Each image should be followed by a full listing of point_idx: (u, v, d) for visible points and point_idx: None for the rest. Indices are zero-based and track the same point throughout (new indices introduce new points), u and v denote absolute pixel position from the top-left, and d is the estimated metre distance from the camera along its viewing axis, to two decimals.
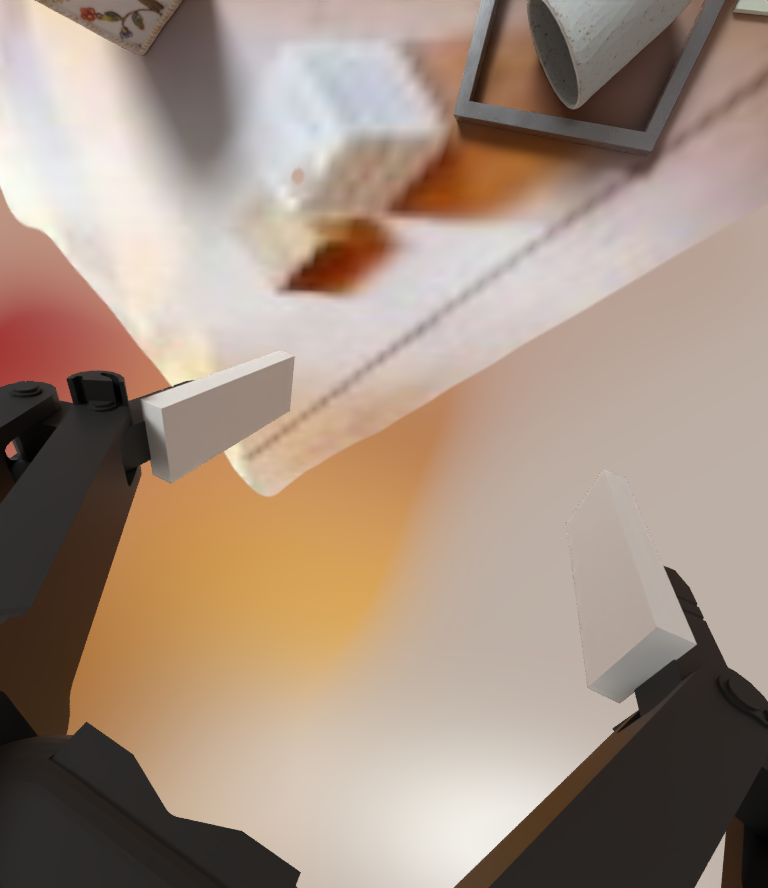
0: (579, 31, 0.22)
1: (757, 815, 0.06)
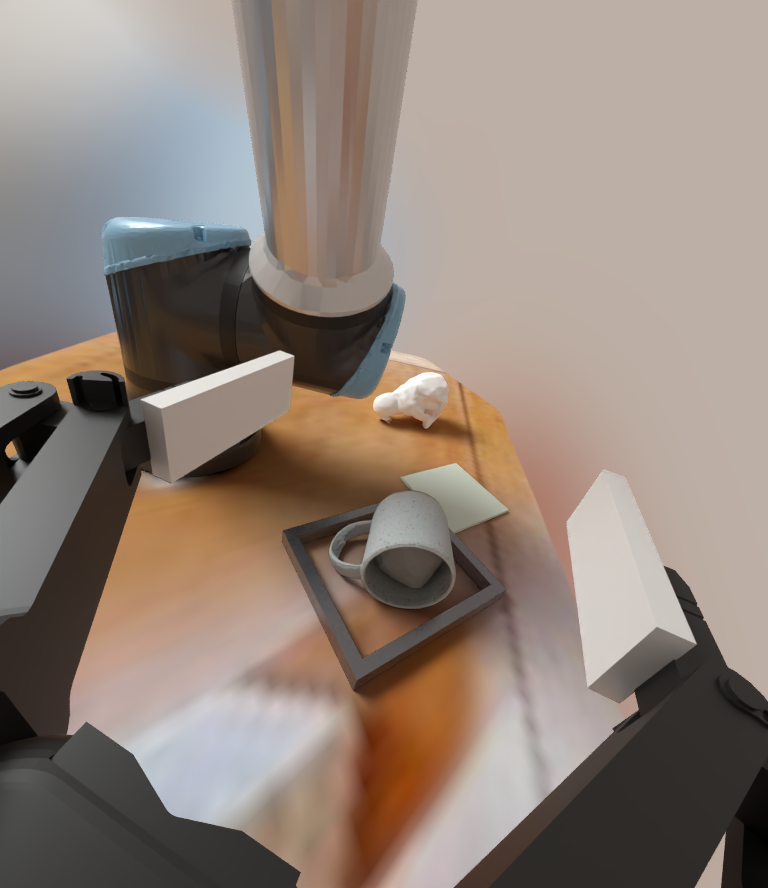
0: (435, 543, 0.27)
1: (757, 814, 0.06)
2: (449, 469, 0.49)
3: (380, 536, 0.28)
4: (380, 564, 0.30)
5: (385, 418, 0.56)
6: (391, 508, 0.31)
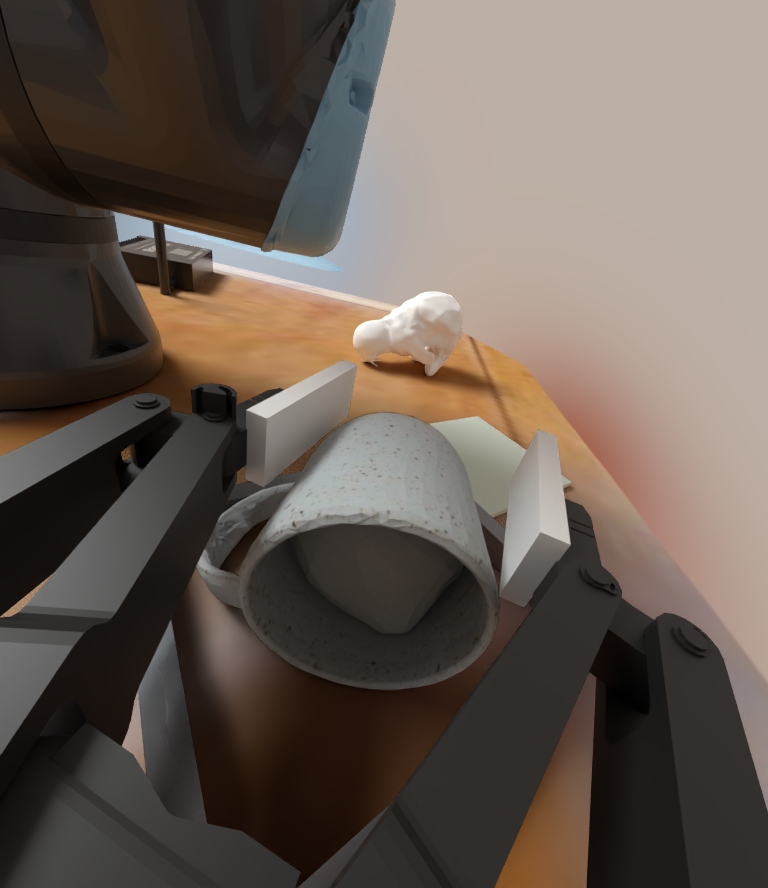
0: (441, 517, 0.09)
1: (605, 669, 0.08)
2: (468, 423, 0.31)
3: (290, 498, 0.10)
4: (307, 575, 0.12)
5: (370, 358, 0.38)
6: (336, 441, 0.13)
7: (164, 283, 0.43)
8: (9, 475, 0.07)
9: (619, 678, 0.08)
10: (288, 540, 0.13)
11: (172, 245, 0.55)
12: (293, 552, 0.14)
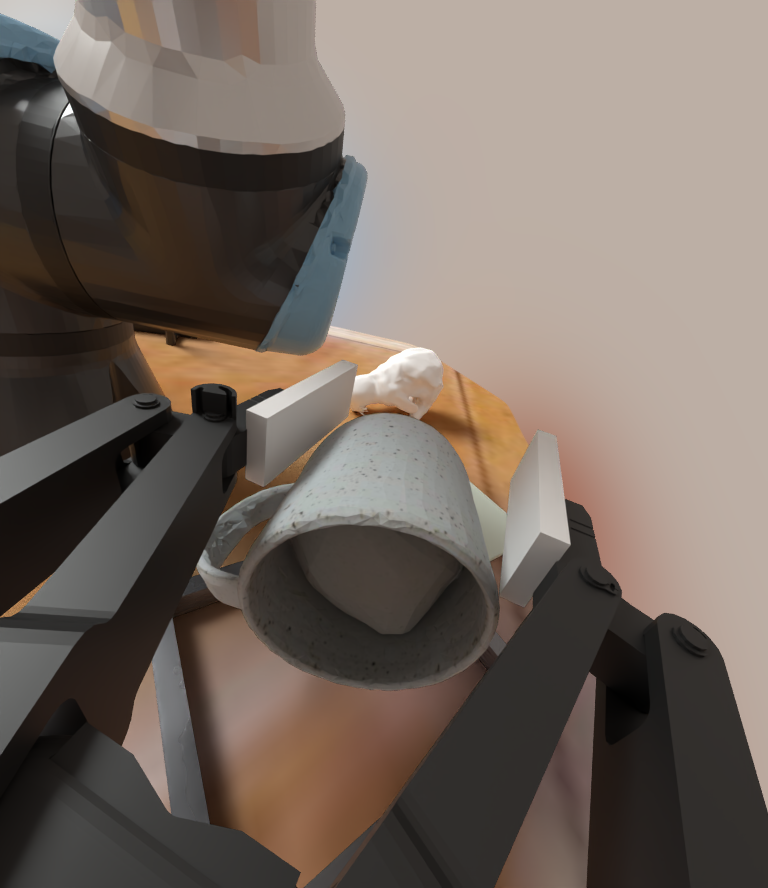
0: (440, 518, 0.09)
1: (605, 669, 0.08)
2: None
3: (290, 499, 0.10)
4: (307, 575, 0.12)
5: (359, 409, 0.42)
6: (336, 441, 0.13)
7: (170, 335, 0.47)
8: (9, 475, 0.07)
9: (619, 679, 0.08)
10: (288, 541, 0.13)
11: None
12: (293, 552, 0.14)
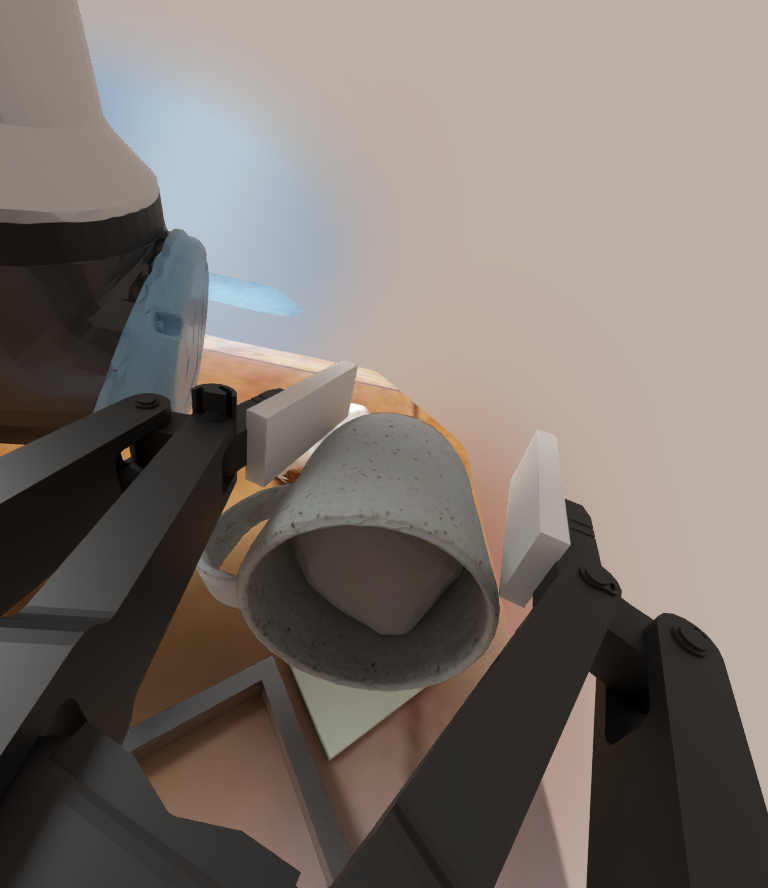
0: (440, 518, 0.09)
1: (605, 668, 0.08)
2: None
3: (289, 500, 0.10)
4: (306, 576, 0.12)
5: (278, 476, 0.36)
6: (336, 441, 0.13)
7: None
8: (9, 475, 0.07)
9: (620, 679, 0.08)
10: (287, 541, 0.13)
11: None
12: (292, 552, 0.14)
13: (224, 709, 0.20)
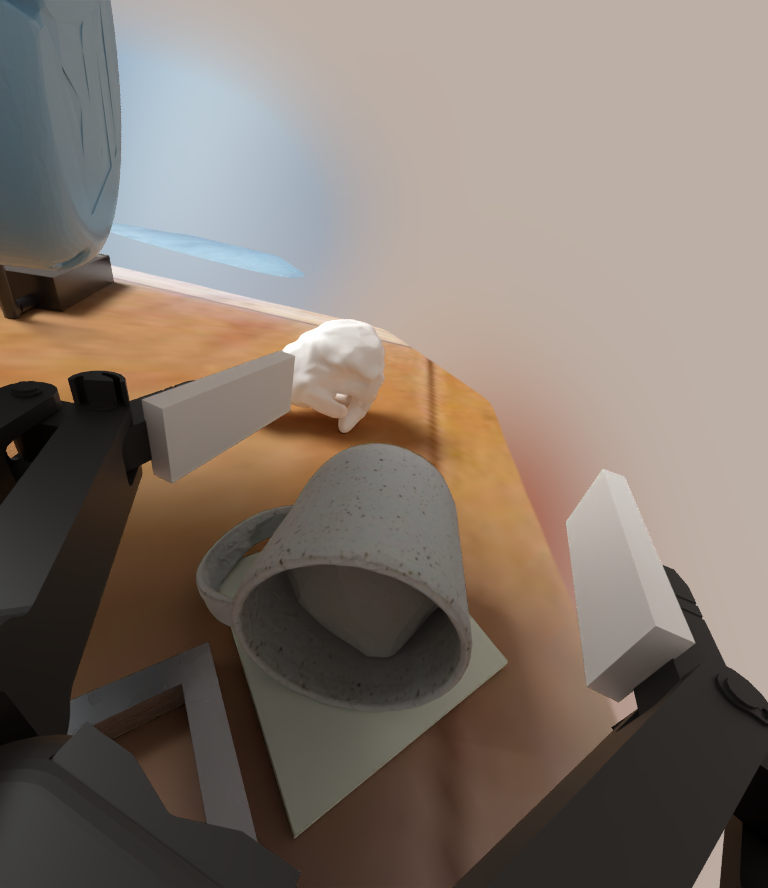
0: (416, 559, 0.10)
1: (756, 813, 0.06)
2: None
3: (281, 533, 0.11)
4: (298, 599, 0.13)
5: None
6: (329, 473, 0.14)
7: (6, 304, 0.33)
8: None
9: None
10: None
11: None
12: (287, 575, 0.14)
13: (110, 735, 0.11)
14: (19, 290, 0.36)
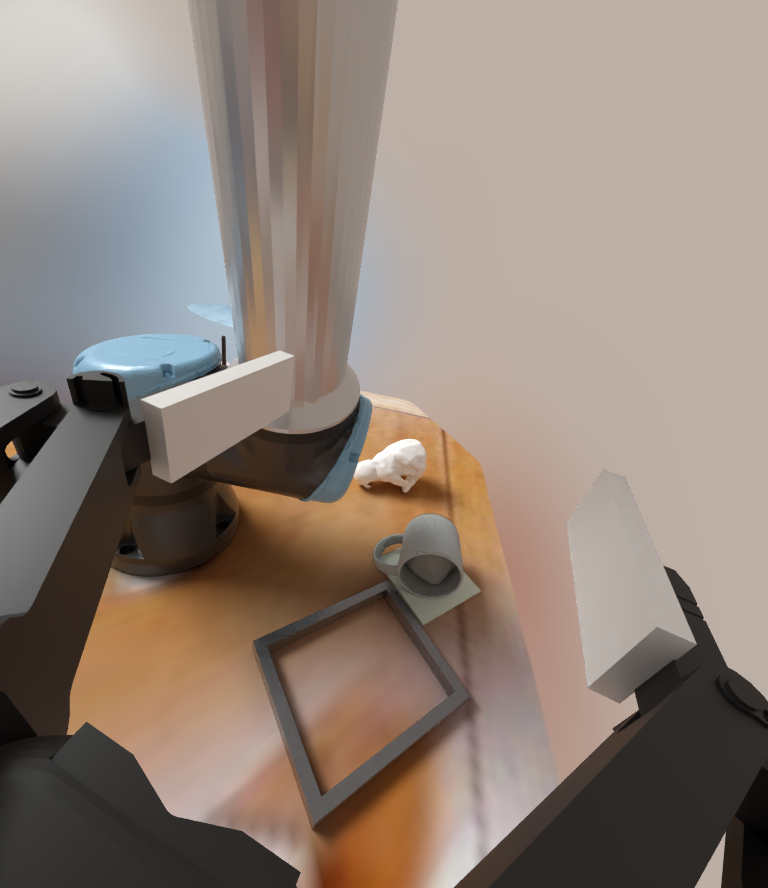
0: (449, 553, 0.39)
1: (757, 815, 0.06)
2: None
3: (411, 546, 0.41)
4: (410, 566, 0.43)
5: (364, 485, 0.57)
6: (419, 526, 0.43)
7: None
8: None
9: None
10: None
11: None
12: None
13: (369, 602, 0.40)
14: None
